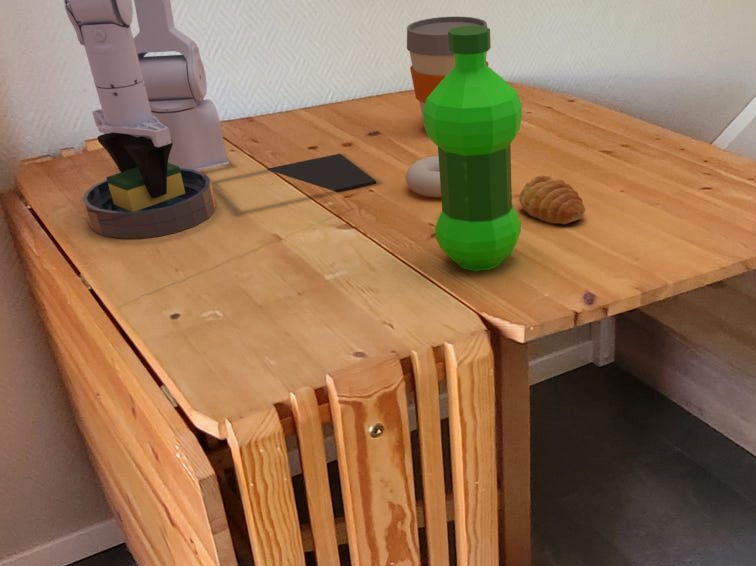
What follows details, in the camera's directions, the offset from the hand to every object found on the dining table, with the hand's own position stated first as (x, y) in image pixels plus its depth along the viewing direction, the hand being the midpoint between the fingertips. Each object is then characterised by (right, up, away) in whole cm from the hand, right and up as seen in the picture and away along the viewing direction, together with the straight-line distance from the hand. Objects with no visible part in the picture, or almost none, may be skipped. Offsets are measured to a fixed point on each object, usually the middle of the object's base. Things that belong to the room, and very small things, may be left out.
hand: (147, 191), depth 126 cm
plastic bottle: (+43, -13, -13) cm, 47 cm away
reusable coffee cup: (+39, +19, +27) cm, 51 cm away
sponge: (0, -1, +1) cm, 1 cm away
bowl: (0, -3, +2) cm, 4 cm away
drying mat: (+17, +4, +11) cm, 20 cm away
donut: (+38, +2, +7) cm, 39 cm away
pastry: (+53, -4, -2) cm, 53 cm away
